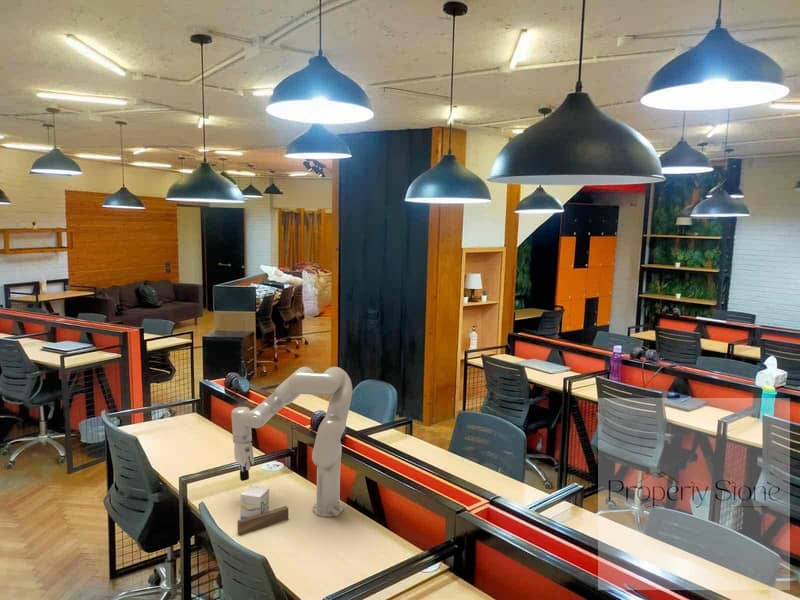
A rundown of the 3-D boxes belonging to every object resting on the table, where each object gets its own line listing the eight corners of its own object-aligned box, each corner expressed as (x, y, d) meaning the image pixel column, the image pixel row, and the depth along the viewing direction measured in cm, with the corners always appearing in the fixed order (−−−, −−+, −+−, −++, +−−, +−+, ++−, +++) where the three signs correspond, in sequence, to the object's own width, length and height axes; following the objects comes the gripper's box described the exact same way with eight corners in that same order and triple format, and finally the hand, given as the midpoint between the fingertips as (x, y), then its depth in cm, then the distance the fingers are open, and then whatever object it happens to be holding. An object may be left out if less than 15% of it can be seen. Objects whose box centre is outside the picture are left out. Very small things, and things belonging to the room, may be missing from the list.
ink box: (259, 525, 212) (259, 497, 211) (239, 522, 214) (239, 494, 213) (269, 514, 221) (269, 487, 219) (250, 511, 223) (250, 484, 221)
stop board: (288, 519, 217) (288, 507, 217) (239, 535, 205) (239, 522, 204) (286, 517, 219) (286, 505, 218) (237, 533, 206) (237, 520, 206)
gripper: (258, 440, 222) (260, 483, 224) (244, 430, 234) (246, 471, 236) (240, 444, 217) (242, 488, 220) (226, 434, 229) (229, 476, 231)
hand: (244, 479), depth 228 cm, fingers closed
